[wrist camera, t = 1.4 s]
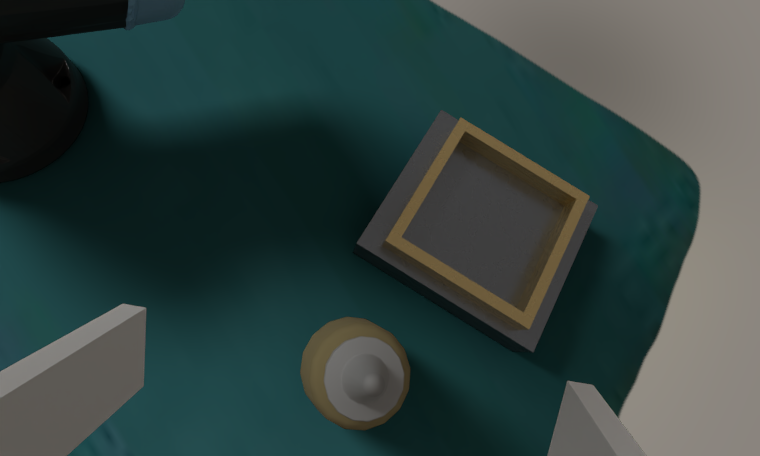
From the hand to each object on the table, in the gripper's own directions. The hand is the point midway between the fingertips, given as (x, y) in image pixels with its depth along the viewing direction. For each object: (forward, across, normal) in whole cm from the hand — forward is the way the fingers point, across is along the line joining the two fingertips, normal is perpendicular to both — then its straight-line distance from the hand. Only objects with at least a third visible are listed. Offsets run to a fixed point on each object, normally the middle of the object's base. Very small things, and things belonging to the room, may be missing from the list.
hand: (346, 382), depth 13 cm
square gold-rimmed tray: (+31, +8, -1) cm, 32 cm away
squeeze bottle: (+23, -2, -13) cm, 26 cm away
